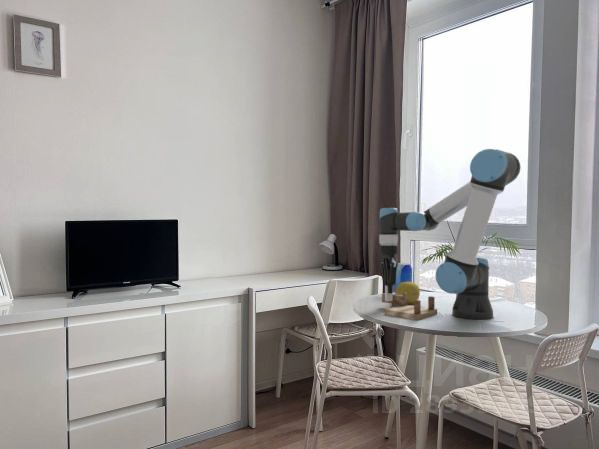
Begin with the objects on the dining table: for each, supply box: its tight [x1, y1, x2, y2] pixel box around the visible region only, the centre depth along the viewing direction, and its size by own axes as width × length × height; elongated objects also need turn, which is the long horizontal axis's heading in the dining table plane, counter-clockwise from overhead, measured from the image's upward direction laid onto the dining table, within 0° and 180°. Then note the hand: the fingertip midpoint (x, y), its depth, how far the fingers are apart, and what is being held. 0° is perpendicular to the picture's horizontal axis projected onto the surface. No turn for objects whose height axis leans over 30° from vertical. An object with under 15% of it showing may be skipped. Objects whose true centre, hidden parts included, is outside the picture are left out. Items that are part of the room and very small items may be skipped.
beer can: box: [394, 262, 413, 294], centre depth 229 cm, size 8×8×16 cm
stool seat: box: [384, 295, 438, 321], centre depth 185 cm, size 15×15×7 cm
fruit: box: [396, 281, 421, 305], centre depth 209 cm, size 10×11×10 cm
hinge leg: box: [381, 292, 407, 305], centre depth 196 cm, size 11×2×5 cm, turn 50°
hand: (388, 300), depth 195 cm, fingers closed
